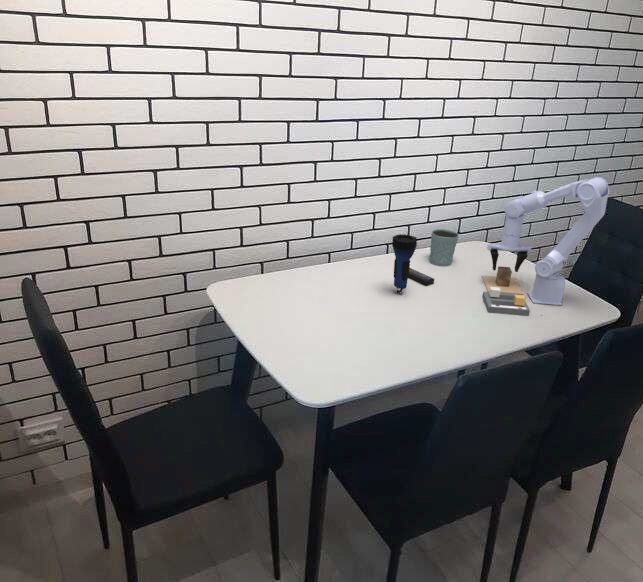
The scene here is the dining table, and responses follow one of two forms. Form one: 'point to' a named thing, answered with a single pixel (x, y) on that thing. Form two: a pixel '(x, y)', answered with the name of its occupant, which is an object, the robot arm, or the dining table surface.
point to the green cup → (442, 247)
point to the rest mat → (491, 282)
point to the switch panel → (504, 304)
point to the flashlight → (402, 258)
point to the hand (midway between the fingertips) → (505, 270)
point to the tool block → (503, 276)
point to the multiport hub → (420, 278)
